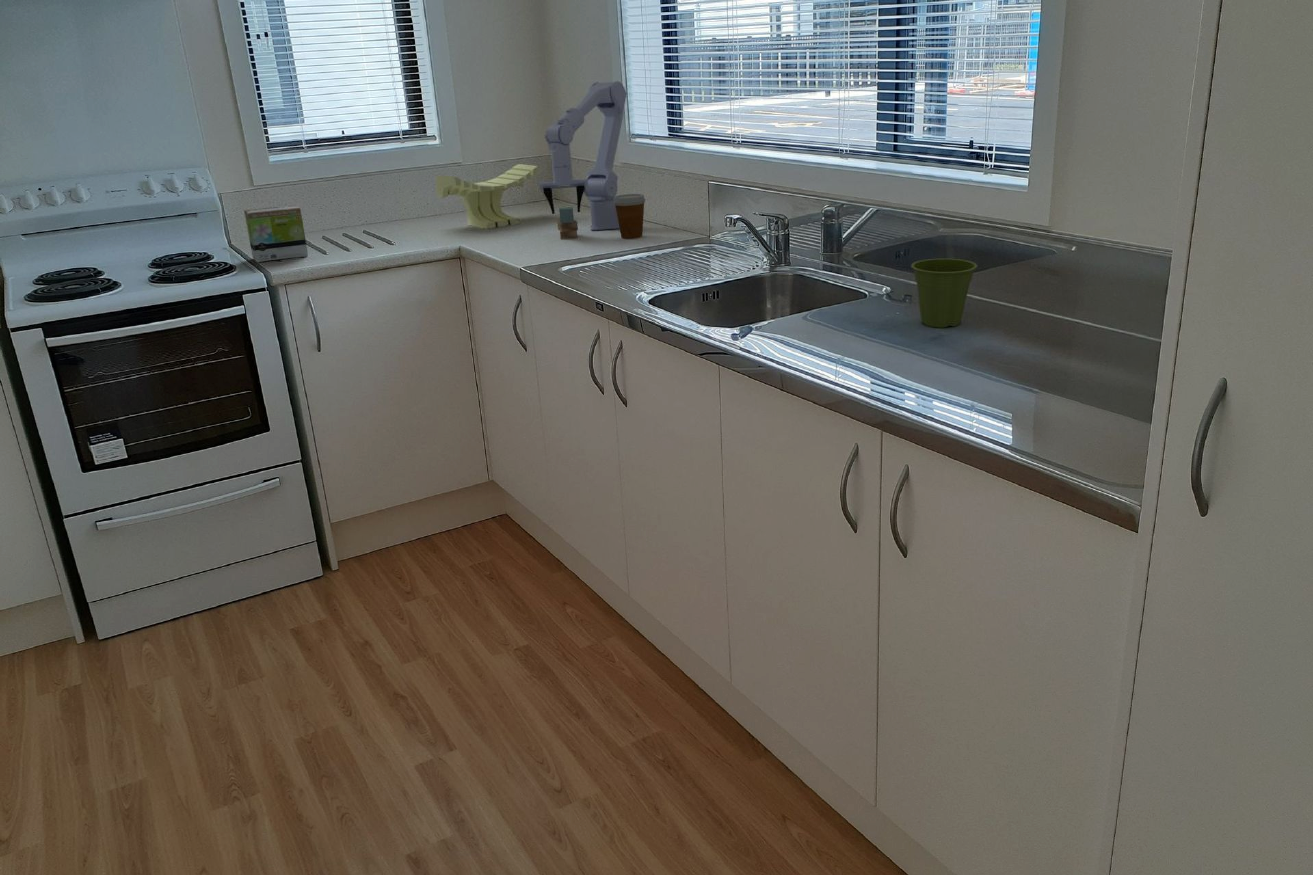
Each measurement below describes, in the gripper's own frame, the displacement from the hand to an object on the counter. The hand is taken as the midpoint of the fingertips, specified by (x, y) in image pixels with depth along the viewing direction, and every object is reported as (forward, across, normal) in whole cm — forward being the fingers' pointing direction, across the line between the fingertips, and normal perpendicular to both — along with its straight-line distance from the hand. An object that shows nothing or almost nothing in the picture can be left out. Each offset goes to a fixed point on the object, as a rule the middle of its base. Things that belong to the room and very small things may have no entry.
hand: (566, 212), depth 306 cm
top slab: (+5, 0, 0) cm, 5 cm away
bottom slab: (+8, 0, 0) cm, 8 cm away
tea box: (+8, -87, +2) cm, 87 cm away
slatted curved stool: (+8, -26, +38) cm, 47 cm away
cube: (+3, 0, 0) cm, 3 cm away
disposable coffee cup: (+8, +19, -8) cm, 22 cm away
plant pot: (+8, +72, -128) cm, 147 cm away
